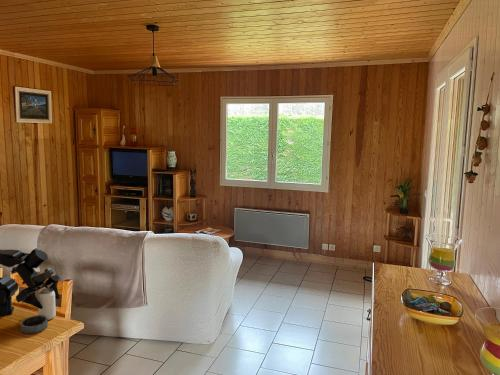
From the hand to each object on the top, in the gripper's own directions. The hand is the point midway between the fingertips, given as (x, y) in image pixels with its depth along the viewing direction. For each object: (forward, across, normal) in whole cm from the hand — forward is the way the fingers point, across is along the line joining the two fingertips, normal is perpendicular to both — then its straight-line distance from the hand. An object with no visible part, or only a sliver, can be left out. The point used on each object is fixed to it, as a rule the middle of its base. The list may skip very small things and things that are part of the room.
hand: (50, 303), depth 158 cm
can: (+3, 0, +6) cm, 7 cm away
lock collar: (+5, -9, +5) cm, 11 cm away
